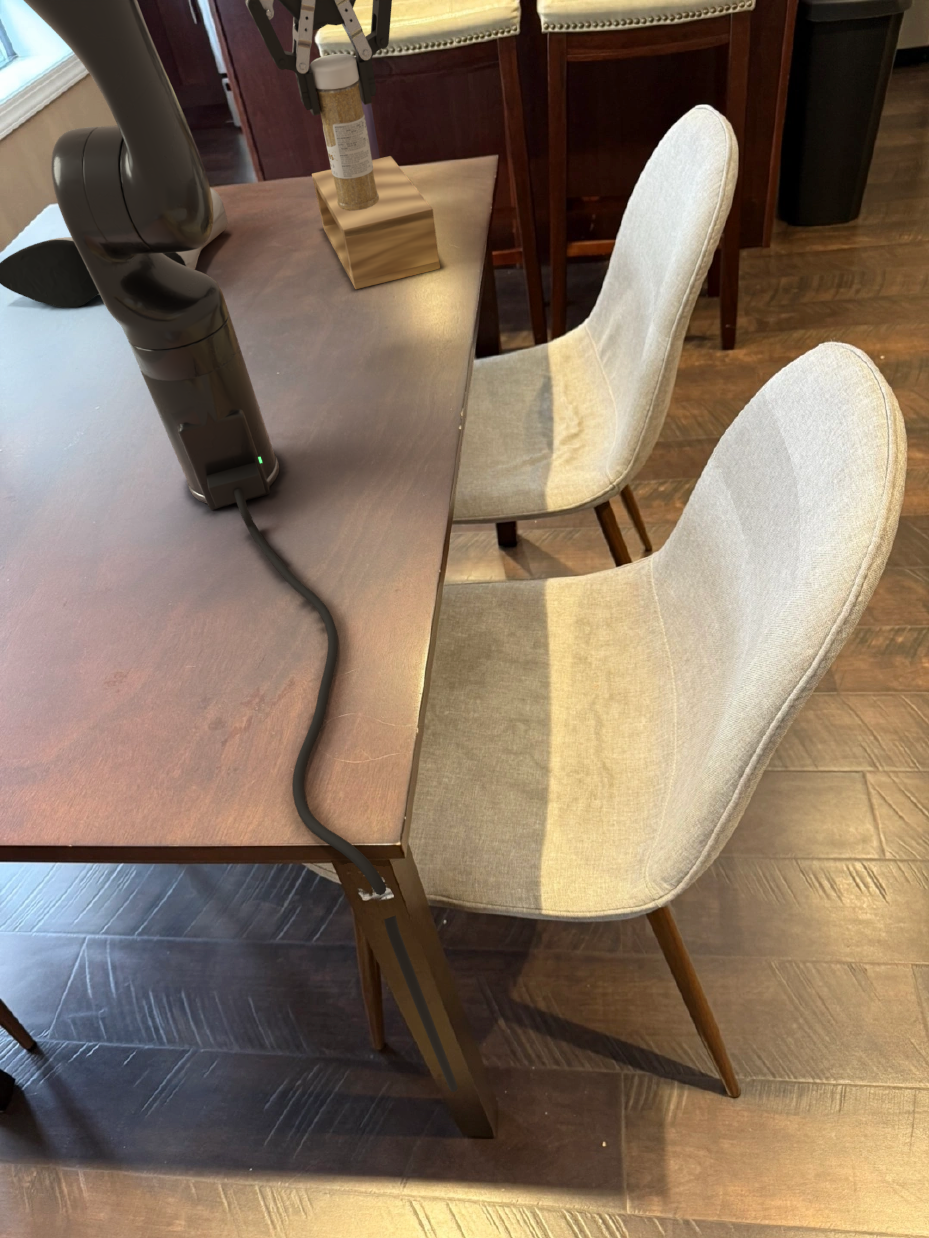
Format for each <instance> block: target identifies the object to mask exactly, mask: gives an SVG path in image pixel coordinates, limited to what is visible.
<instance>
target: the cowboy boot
mask: <svg viewBox="0 0 929 1238" xmlns="http://www.w3.org/2000/svg"><path fill="white" fill-rule="evenodd" d="M210 190H211V195H212V201H213V215H214V219H213V228H212V232H211V235H210V237H209V239H208V241H207V242H206V243H205V244H204V245H203V246H202V247H200V248H198V249H195V250H191V251H185V252H172V253H163V254H164V255H165V256H167V257H168V258H170V259H172V260H173V261H175V262H177V263H179V264H181V265H184V266H186V267H189V268H191V269H194V270H196V268H197V264H198V259H199V256H200V254H201V251H202V250H203V249H204V248H205V247H206V246H208V245H209V244H210V243H211V242H212V241H213V240H215V238H217V237H218V236H219V235H221V233H223V232H224V231H225V230H226V229H227V228H228V225H229V220H228V216H227V213H226V209H225V205H224V202H223V200H222V198H221V196H220V194H219V192H218V191H216V190H215V188H213V187H210ZM0 285H1V286H3V287H4V288H6V289H8V290H9V291H11V292H13V293H15V294H18V295H20V296H22V297H25V298H27V299H30V300H33V301H35V302H38V303H40V304H41V303H42V304H45V305H49V306H53V307H57V308H62V309H64V308H65V309H73V308H79V307H82V306H83V305H86V304H87V303H89V302H90V301H91V300H93V299H94V298H95V297H96V296H100V294H99V292H98V290H97V288H96V285H95V283H94V281H93V279H92V277H91V275H90V273H89V271H88V269H87V267H86V265H85V263H84V261H83V259H82V257H81V255H80V253H79V251H78V249H77V247H76V245H75V243H74V241H73V239H72V237H71V236H64V237H56V238H50V239H48V240H44V241H40V242H36V243H34V244H31V245H28V246H26V247H23V248H21V249H19V250H18V251H15V252H14V253H12V254H10V255H9V256H7V257H5V258H4V259H3V260H2V261H0Z"/></svg>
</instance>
